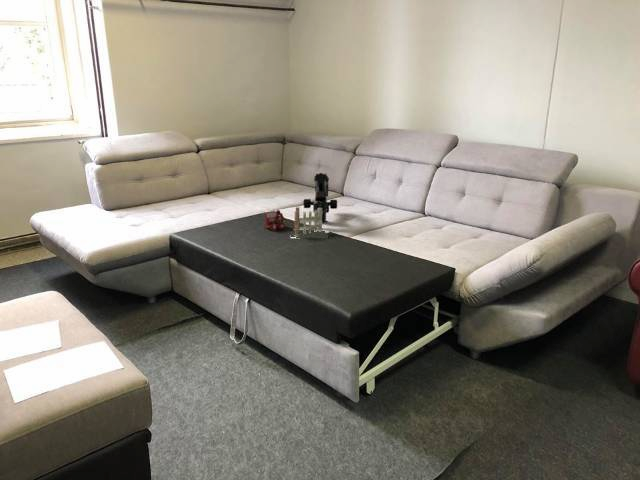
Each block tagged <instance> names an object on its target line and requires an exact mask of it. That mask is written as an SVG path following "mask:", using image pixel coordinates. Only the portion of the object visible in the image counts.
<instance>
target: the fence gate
mask: <svg viewBox="0 0 640 480" xmlns="http://www.w3.org/2000/svg"><path fill="white" fill-rule="evenodd" d="M312 211H313V210H312ZM312 211H311V210H309V211H308V216H307V211H304V212H303V214H302V215H303V217H301V218H300V217H299V224H302V226H299V230H303V234H306V230H309V233H311V230H312V229H313V230H314V232H317V231H319V232H321V231H322V230H323V223H322V208H318V216H317V210H316V211H314V213H313V214H314V216H312ZM313 221H314V222H313ZM312 222H313V224H312ZM307 223H308V225H307Z"/></svg>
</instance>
